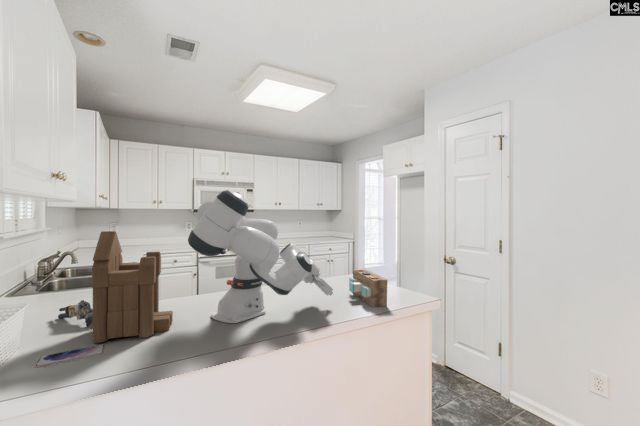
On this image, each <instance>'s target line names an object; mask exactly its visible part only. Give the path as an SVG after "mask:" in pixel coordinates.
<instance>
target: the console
mask: <svg viewBox="0 0 640 426" xmlns="http://www.w3.org/2000/svg"><path fill="white" fill-rule="evenodd" d="M352 278H356V279H358V282H363V283H364V286H365V287H366V286H369V287H371V296H369V297H367V298H365V297H364V296H363V295H362V292H354V293H353V294H355V295H356V296H357V297H358V298H360V299H361V300H363V302H365V303H367V304H368V305H369V306H371V308H372V307H373V308H377V307H378V308H379V307H381V308H382V307H387V306H388V279H386V278H385V277H383V276H380V275H379V274H376V273H375V272H372V270H371V271H370V270H369V269H367V268H354V269H352Z"/></svg>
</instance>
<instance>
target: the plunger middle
mask: <svg viewBox="0 0 640 426" xmlns="http://www.w3.org/2000/svg"><path fill="white" fill-rule="evenodd" d="M362 286H364V283H363V282H354V283H352V282H349V281H348V287H349V289H348V290H349V292H350V293H352V294H355V293H354V292H362Z"/></svg>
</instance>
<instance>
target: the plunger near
mask: <svg viewBox="0 0 640 426" xmlns="http://www.w3.org/2000/svg"><path fill="white" fill-rule="evenodd" d="M362 295H363V296H364V297H365V298H367V297H369V296H371V287H369V286H366V287H365V286H362Z"/></svg>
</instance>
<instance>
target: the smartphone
mask: <svg viewBox="0 0 640 426" xmlns="http://www.w3.org/2000/svg"><path fill="white" fill-rule="evenodd" d="M104 349H105V345H104V344H99V345H94V346H88V347H84V348H77V349H72V350H67V351H63V352H62V351H61V352H57V353H51V354H45V355H42V356H40V357H39V359H38V361H37V362H36V363H35V366H34V368H35V369H39V368H44V367H49V366H53V365H60V364H64V363H70V362H73V361H79V360H83V359H88V358H89V357H90V358H94V356H95V357H99V356H98V355H100V356H102V355H103V354H104Z"/></svg>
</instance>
